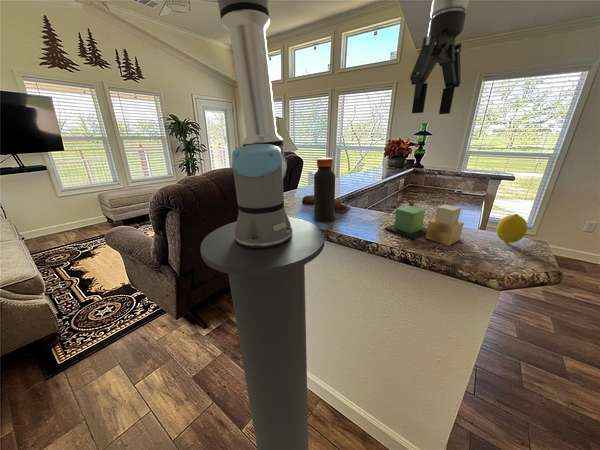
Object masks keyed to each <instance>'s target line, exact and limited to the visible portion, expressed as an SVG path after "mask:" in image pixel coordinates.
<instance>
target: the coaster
mask: <svg viewBox="0 0 600 450" xmlns="http://www.w3.org/2000/svg"><path fill="white" fill-rule="evenodd" d="M427 228H428V227H424V226H422V229H421V230H419V231H416V232H414V233H412V234H410V233H407V232H405V231H402V230H399V229H396V228H394V224H391V225H389V226H386V227H385V228H384V230H386V231H388V232H392V233H394V234H397V235H400V236H402V237H405V238H408V239H410V240H415V239H417V238H419V237H421V236H424V235H426V233H427Z"/></svg>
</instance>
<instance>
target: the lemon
mask: <svg viewBox="0 0 600 450" xmlns="http://www.w3.org/2000/svg"><path fill="white" fill-rule="evenodd" d="M527 230H528V224H527V221H526V219H525V218H523V217H522V216H521V215H519V214H518V213H513V214H508V215H505V216H504V217H502V218H501V219H500V220H499V222H498V223H497V226H496V235H497V237H498V238H499V239H500V240H501V241H503V242H504V244H511V243H517V242H519V241H521V240H522V239H523V238H524V237H525V236H526V233H527ZM501 234H502V235H501Z"/></svg>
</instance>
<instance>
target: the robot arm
mask: <svg viewBox="0 0 600 450" xmlns="http://www.w3.org/2000/svg"><path fill="white" fill-rule="evenodd" d="M217 4H218V5H217V6H218V11H219V16H220V22H221V25H222V26H223V28H224V29H226V31H227V32H228V33H229V37H230V43H231V49H232V50H231V51H232V55H233V62H234V68H235V74H236V80H237V81H236V82H237V86H238V93H239V100H240V106H241V112H242V117H243V124H244V130H245V135H246V136H245V137H244V140H243V141H242V143H241V146H239V147H236V148H234V150H233V151H232V153H231V168H232V172H233V178H234V179H233V180H234V187H235V193H236V201H237V209H238V214H237V220H236V221H237V224H236V228H235V234H234V235H235V242H236V243H237V244H238V245H239V246H241V247H243V248H247V249H253V250H264V249H271V248H276V247H279V246H282V245H284V244H286V243H287V242H289V241H290V240H291V239H292V236H293V235H292V227H291V224H290V222H289V219H288V217H289V216H288V215H287V212H286V209H285V196H284V194H285V193H284V179H285V176H286V174H287V170H288V163H287V159H286V156H285V147H284V140H283V138H282V137H281V136H280V135H279V134H278V133H277V125H276V116H275V108H274V99H273V90H272V82H271V81H272V80H271V73H270V72H271V71H270V65H269V56H268V47H267V38H266V30H267V29H268V27H269V25H270V23H271V18H270V11H269V10H270V9H269V0H217ZM468 5H469V0H432V2H431V10H430V18H431V19H430V20H429V25H428V31H427V36H424V37H423V41H422V45H421V49H420V51H419V54H418V56H417V58H416V61H415V64H414V65H413V69H412V72H411V74H410V78H409V79H410V84H411V85H412V86H414V85H415V86H414V91H413V92H414V93H413V102H412V109H411V114H423V113H424V111H425V103H426V97H427V92H428V85H429V83H428V82H427V81H428V78H429V77H430V75H431V73H432V72H433V70H434V68H435V66H436V65H437V64H438V65H439V67H441V71H442V76H443V82H444V88H443V89H442V94H441V99H440V105H439V111H438V114H439V115H449V114H451V109H452V105H453V99H454V95H455V90H456V88H459V87H460V85H461V52H462V43H461V42H459V43H456V38H457V37H458V36H459V35H461V34H462V33H463V31H464V27H465V22H466V17H467V13H466V11H467V10H468Z"/></svg>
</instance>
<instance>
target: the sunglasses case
mask: <svg viewBox="0 0 600 450" xmlns="http://www.w3.org/2000/svg"><path fill="white" fill-rule="evenodd" d="M301 204H302V205H303V206H304V205H307V206H314V194H313V195H305V196H303V198H302V200H301ZM350 208H351V207H350V206H348V205H347V204H346V203H345V204H344V203H343V202H340V201H339V200H338V199H336V198H335V203H334V211H336V212H339V213H341V214H343V213H345V212H347V211H348V210H350Z"/></svg>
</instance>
